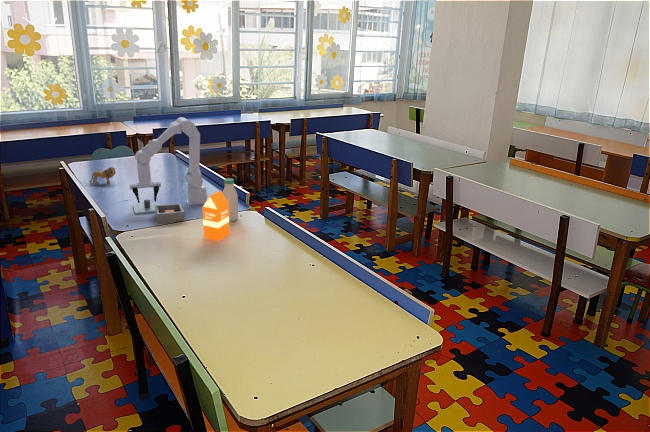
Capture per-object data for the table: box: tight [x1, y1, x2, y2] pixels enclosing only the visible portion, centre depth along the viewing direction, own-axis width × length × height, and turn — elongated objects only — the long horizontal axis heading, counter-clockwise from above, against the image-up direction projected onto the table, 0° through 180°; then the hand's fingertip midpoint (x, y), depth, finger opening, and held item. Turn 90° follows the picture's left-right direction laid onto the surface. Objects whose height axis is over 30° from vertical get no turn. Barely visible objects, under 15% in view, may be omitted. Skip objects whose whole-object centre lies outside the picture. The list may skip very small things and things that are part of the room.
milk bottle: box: [221, 177, 239, 223], centre depth 238 cm, size 8×8×20 cm
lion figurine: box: [88, 166, 117, 184], centre depth 285 cm, size 15×5×9 cm, turn 103°
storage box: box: [155, 203, 186, 224], centre depth 239 cm, size 12×12×5 cm
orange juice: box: [202, 189, 230, 242], centre depth 219 cm, size 8×9×20 cm
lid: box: [132, 199, 161, 215], centre depth 248 cm, size 13×13×5 cm
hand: (147, 201), depth 247 cm, fingers open, 7 cm apart
